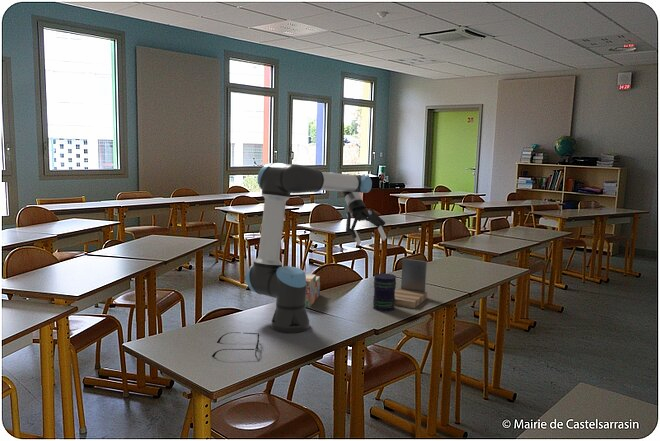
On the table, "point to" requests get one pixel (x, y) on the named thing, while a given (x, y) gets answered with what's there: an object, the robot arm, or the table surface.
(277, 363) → the table surface
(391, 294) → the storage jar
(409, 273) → the bookend
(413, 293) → the slatted wooden block
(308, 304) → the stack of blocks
